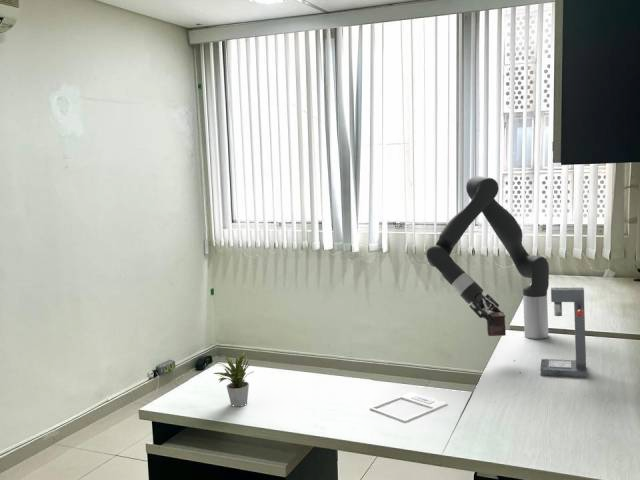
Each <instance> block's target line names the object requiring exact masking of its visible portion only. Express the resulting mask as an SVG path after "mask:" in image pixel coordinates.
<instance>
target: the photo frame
mask: <svg viewBox="0 0 640 480" xmlns="http://www.w3.org/2000/svg"><path fill="white" fill-rule="evenodd" d="M400 399H402V400H404V401H407V402H410V403H414V404H416V405H420V406H423V407H426V408H428V409H427V410H425V411H423V412H421V413H418V414H415V415H413V416H411V417H408V418H402V417H399V416H397V415H394V414H390V413H388V412H385V411H383V410H381V409H378V408H380V407H382V406H386V405H389V404H391V403H394V402H395V401H399V400H400ZM446 406H448V402H445V401H441V400H438V399H435V398H432V397H428V396H425V395H422V394H418V393H415V392H412V391H410V392H408V393H406V394H403V395H400V396H397V397H395V398H392V399H389V400H387V401H384V402H382V403H378V404H375V405H373V406H371V407H369V410H371V412H375V413H379V414H382V415H383V416H387V417H390V418H391V419H394V420H397V421H401V422H402V423H408V422H410V421H413V420H415V419H417V418H420V417H422V416H424V415H427V414H429V413H432V412H434V411H436V410H439V409H441V408H443V407H446Z"/></svg>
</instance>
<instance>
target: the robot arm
mask: <svg viewBox="0 0 640 480" xmlns="http://www.w3.org/2000/svg"><path fill="white" fill-rule="evenodd" d="M465 187H466V194H467V195H468V197H469V198H470V200H471V201H470V202H469V203H468V204H467V205H466V206H465V207H464V208H462V209H461V210H460V211H459V212H458V213H457V214H456V215H454V216H453V217H452V218H451V219H450V220H449V221H448V222H447V224H446V225H445V227H444V228H443V229H442V231H441V233H440V234H439V237H438V240H437V242H436V243H435V245H432V246H430V247H428V249H427V250H426V259H427V262H428V263H429V265H431V266H432V267H435V268H436V270H438V271H439V272H440V274H441V275H442V277H443V278H444V280H446V281H447V282H448V284H450V286H451V287H452V289H454V291H455V292H456V293H457V294H458V295H459V296H460V297H461V298H462V299H463V300H464V301H465V302H466V303H467V305H469V308H470V309H471V310H472V311H473V312H474V313H475V314H476V316H477V317H479V319H485V320H486V322H487V321H488V322H489V323H490V324H491V325H492V326H493V325H495V324H496V323H497V321H496V320H495V319H494V318H493V317H492V316H491V315H490V314H489V313H490V312H502V311H501V310H500V309H499V307H500V304H499V303H498V302H496V301H495V299H494V298H493V297H492V296H491V295H490V294H489V293H488V294H486V295H484V294H483V293H484V289H483V288H482V287H481V286H480V285H479V284H478V283H477V282H476V281H475V280H474V278H473V277H472V276H471V275H469V274H468V273H467V272H466V271H465V270H464V269H463V268H462V267H461V266H460V265H459V264H458V263H456V262H455V260H454V259H453V258H452V257H451V253H452V251H453V250H454V247H455V246H456V245H457V244H458V242H459V241H460V239H461V238H462V237H463V235H465V234H464V233H465V232H466V231H467V230H468V228H469V227H470V225H471V224H472V223H473V222H474V221H475V220H476V219H477V217H478V216H479V215H480V214H481V213H482V215H483V216H484V218H485V220H486V221H487V222H488V224H489V225H490V227H491V228H492V230H493V231H494V233H495V235H496V236H497V237H498V240H499V241H500V242H501V243H502V245H503V247H504V248H505V250H506V251H507V252H508V254H509V256H510V258H511V260H512V262H513V264H514V266H515V268H516V270H517V271H518V273H519V274H520V276H522V277H523V278H525V279H526V278H528V279H531V280H530V281H531V282H530V283H531V284H530V285H528V286H525V287H524V288H523V289H522V301H523V303H522V304H523V323H524V325H523V327H524V328H523V329H524V337H525V338H527V339H531V340H532V339H534V340H541V339H547V338H549V314H548V313H549V312H548V310H549V309H548V306H549V305H548V290H549V286H550V283H549V282H550V264H549V262H548V260H547V258H546V257H545V256H540V255H531V254H529V253H528V251H527V250H526V249H525V247H524V245H523V229H522V227H521V226H520V224H519V223H518V221H517V220H516V218H515V217H514V215H512V214H511V212H509V211H508V210H507V209H505V207H504V206H502V205H501V204H500V203H499V202H498V201H497V200H496V197H497V195H498V193H499V190H500V189H499V183H498V182H497V180H496V179H494V178H491V177H487V176H479V175H478V176H473V177H471V178H470V177H469V179H467V182H466V186H465ZM489 311H490V312H489Z"/></svg>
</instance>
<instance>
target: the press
mask: <svg viewBox="0 0 640 480" xmlns="http://www.w3.org/2000/svg"><path fill="white" fill-rule="evenodd" d="M550 295H551V296H550V299H551V303H553V308H554V310H553V311H554V312H553V313H554V316H555V317H563V303H573V306H574V308H573V310H574V340H575V341H574V342H575V346H574V348H575V359H574V360H571V359H552V358H551V359H549V358H541V360H540V361H541V362H540V369H539V370H540V376H544V377H563V378H565V377H567V378H582V379H583V378H584V379H587V377H588V372H587V355H586V352H587V347H586V318H585V315H586V314H585V313H586V312H585V289H584V287H550Z"/></svg>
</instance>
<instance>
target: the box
mask: <svg viewBox="0 0 640 480" xmlns="http://www.w3.org/2000/svg"><path fill="white" fill-rule="evenodd" d="M489 314H490V315H491V316H492V317H493V318H494V319H495V320H496V321H497V323H496V324H495V325H493V326H492V325H491V324H490V323H489V322H488V321H487V320H486V328H487V330H486V331H487V335H488V337H499V336H501V337H502V336H503V337H504V336H506V335H507V334H506V315H505V313H504V311H501V312H492V311H490V312H489Z"/></svg>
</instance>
